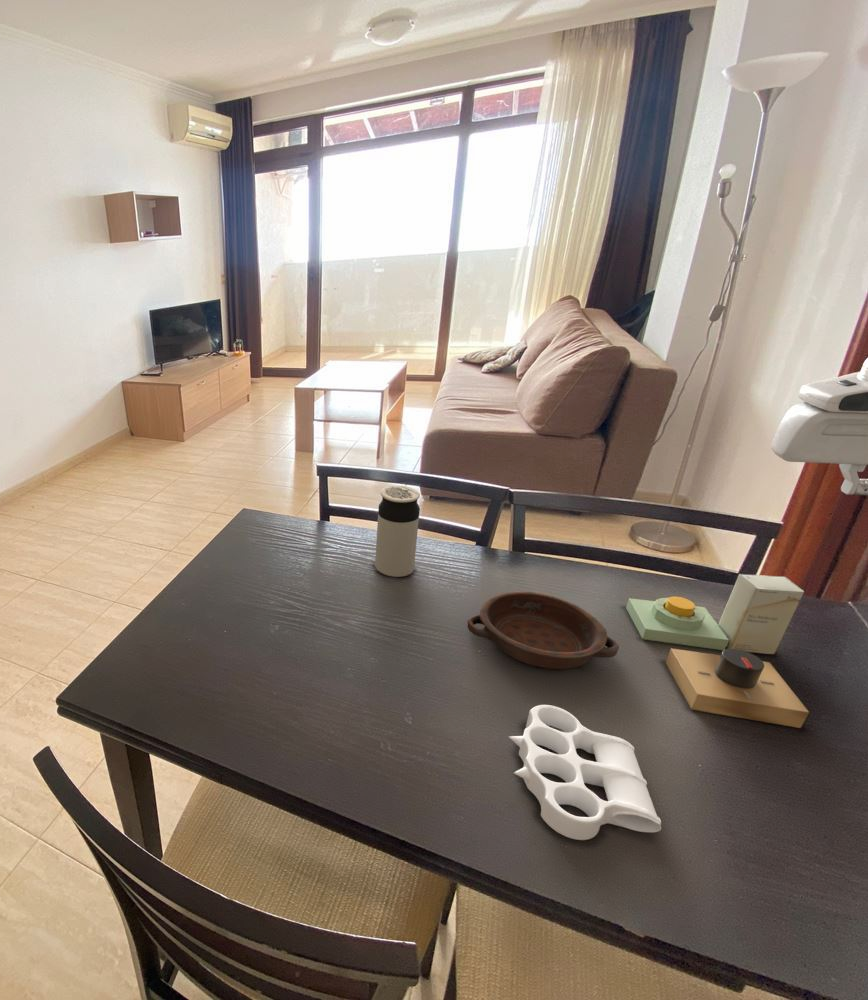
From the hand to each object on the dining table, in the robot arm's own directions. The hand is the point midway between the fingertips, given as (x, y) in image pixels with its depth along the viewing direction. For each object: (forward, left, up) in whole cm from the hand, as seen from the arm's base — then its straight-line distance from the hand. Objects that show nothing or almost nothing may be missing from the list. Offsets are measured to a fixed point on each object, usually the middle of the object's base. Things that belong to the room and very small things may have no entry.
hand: (858, 493), depth 72 cm
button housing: (+12, -5, -29) cm, 32 cm away
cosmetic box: (+3, -3, -29) cm, 30 cm away
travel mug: (+58, -14, -29) cm, 66 cm away
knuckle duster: (+34, +32, -29) cm, 55 cm away
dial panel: (+10, +10, -29) cm, 32 cm away
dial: (+10, +10, -26) cm, 29 cm away
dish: (+34, +5, -29) cm, 45 cm away
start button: (+12, -5, -25) cm, 28 cm away
